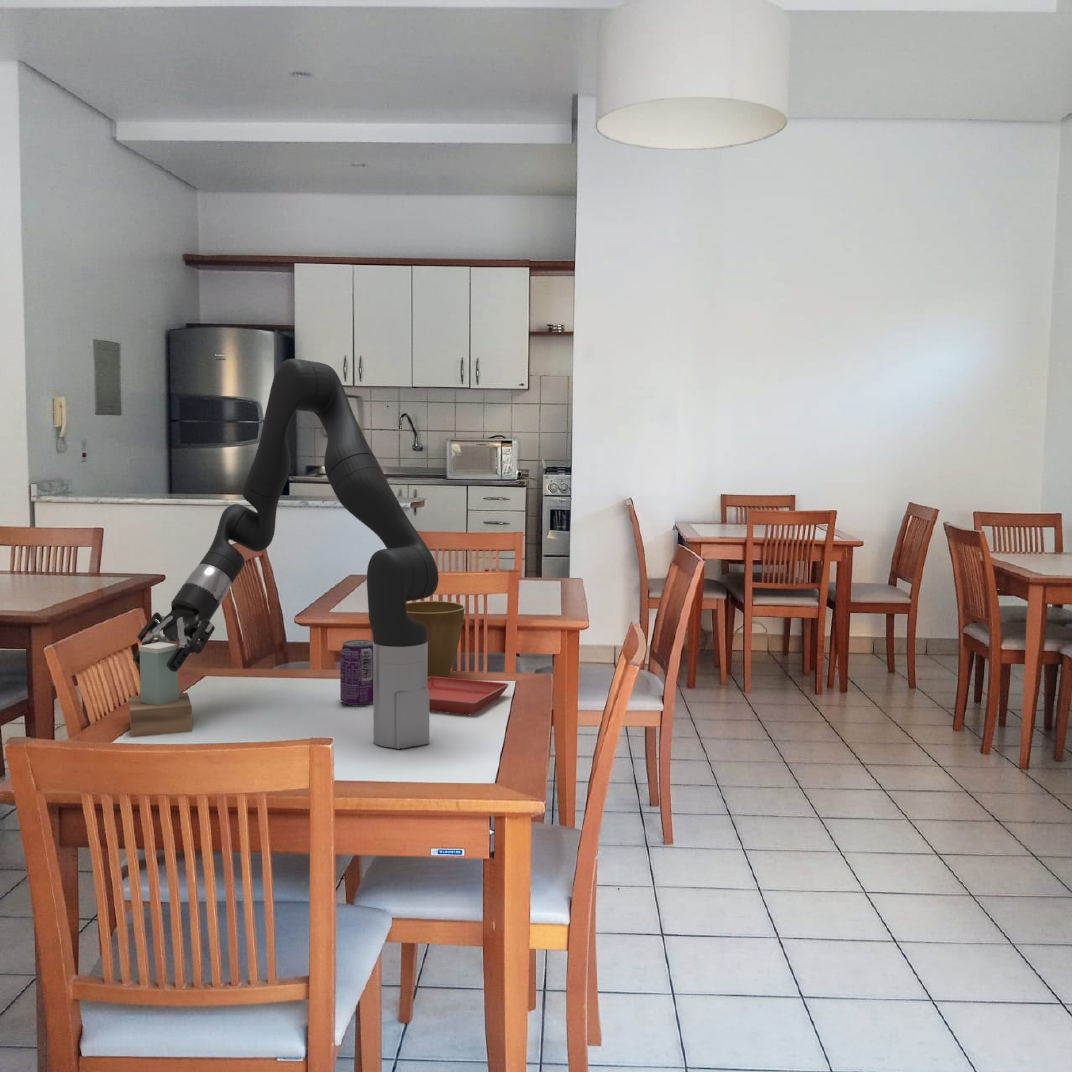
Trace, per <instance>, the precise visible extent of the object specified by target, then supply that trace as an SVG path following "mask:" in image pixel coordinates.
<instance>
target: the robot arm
mask: <svg viewBox="0 0 1072 1072" xmlns="http://www.w3.org/2000/svg"><path fill="white" fill-rule="evenodd" d="M296 411H300V412H312V413H314V414H315V415H316V416H317V417H318V420H320V423H321V424H322V426H323V428H324V431H325V433H326V436H327V440H326V441H327V443H326V448H325V453H324V463H323V465H324V472H325V475H326V477H327V479H328V482H329V484H330V486H331V488H332V490H333V492H334V494H335V496H336V499H337V500H338V501H339V503H340V504H341V505H342V507H343V508H344V509H345V510H347V511H348V513H350V514H351V515H352V516H354V518H356V519H357V520H358V521H359V522H361V523H362V524H363V525H364V526H366V527H367V528H368V529H369V530H371V531H372V532H373V533H375V535H376V536H377V537H378V538H379V539H380V541H382V543H383V544H384V547H385V548H383V549H379V550H377V551H376V552H374V553H373V554H372V556H371V557H370V559H369V561H368V565H367V571H366V588H367V589H366V590H367V604H368V605H367V606H368V619H369V620H368V621H369V625H370V629H371V631H372V641H373V702H372V703H373V707H372V708H373V711H372V712H373V714H372V715H373V716H372V717H373V718H372V719H373V743H374V744H375V745H378V746H381V747H384V748H385V747H386V748H393V749H396V748H402V749H406V748H408V749H409V748H412V746H413V747H418V746H422V745H427V744H428V745H429V744H430V711H429V689H428V630H427V626H426V625H425V624H424V623H422V622H419V621H415V620H412V619H411V618H409V617H408V615H407V610H406V603H407V602H411V601H412V602H414V601H418V600H423V599H427V598H430V597H431V596H433V595H434V593H435V592H436V591H437V588H438V586H439V570H438V566H437V563H436V560H435V559H434V556H433V554H432V553H431V551H430V549H429V548H428V546H427V545H426V543H425V542H424V540H423V539H422V537H421V536H420V534H419V532H418V531H417V530H416V528H415V526H413V524H412V522H411V520H410V519H409V517H408V516H407V514H406V513H405V511H404V509H403V507H402V506H401V504H400V502H399V500H398V499H397V497H396V495H395V493H394V491H393V489H392V488H391V486H390V483H389V482H388V479H387V478H386V475H385V474H384V472H383V468H382V467H381V465H380V463H379V461H378V460H377V457H376V456H375V454H374V453H373V451H372V449H371V447H370V446H369V444H368V442H367V439H366V437H365V435H364V433H363V431H362V430H361V427H360V425H359V423H358V421H357V418H356V417H355V414H354V411H353V409H352V406H351V404H350V401H349V399H348V397H347V394H346V391H345V388H344V386H343V384H342V382H341V378H340V376H339V375H338V373H337V372H336V371H335V369H334V368H333V367H331V366H330V365H328V364H327V363H325V362H318V361H313V360H305V359H301V358H300V359H299V358H289V359H286V360H284V361H283V362H281V364H280V365H279V366H278V368H277V369H276V372H275V374H274V376H273V379H272V383H271V387H270V391H269V396H268V401H267V405H266V409H265V413H264V418H263V424H262V429H261V434H260V439H259V442H258V445H257V450H256V452H255V455H254V458H253V461H252V464H251V466H250V469H249V471H248V473H247V476H246V478H245V482H244V483H243V486H242V490H241V495H242V497H243V499H244V500H246V502H248V503H249V504H250V505H251V506H252V507H253V508H254V509H255V510H256V511H257V512H256V511H255V510H253V509H251V508H250V507H246V506H245V505H242V504H240V503H235V504H234V503H233V504H231V505H229V506H227V507H226V508H225V509H224V510H223V512H222V513H221V516H220V518H219V523H218V525H217V529H216V531H215V536H214V539H213V541H212V543H211V545H210V547H209V549H208V551H207V552H206V554H205V555H204V556H203V558H202V559H201V560H200V562H199V564H198V565H197V566H196V568H195V569H194V570H193V571H192V572H191V573H190V575H189V576H188V578H187V579H186V580H185V582H184V583H183V584H182V586H181V587H180V589H179V590H178V592H177V593H176V595H175V596H174V598H173V599H172V601H171V602H170V605H171V609H170V612H169V613H168V614H166V615H165V616H163V615H161V613H160V612H158V611H157V612H154V613H153V615H152V616H151V617H150V619H148V621H147V622H146V624H145V625H144V626H143V628H142V630H141V631H140V632H139V633H138V635H137V639H138V640H139V641H140V642H141V643H142V644H141V645H140V646H142V645H147V644H152V643H157V642H164V643H170V642H177V643H179V644H178V647H179V648H177V649H176V650H175V652H174V654H173V655H172V657H171V658H170V660H169V661H168V663H167V667H168V668H169V669H170V670H171V671H173V672H176V671H177V670H178V671H179V669H180V668H181V667H182V665H183V664H184V662H185V661H186V660H187V658H188V656H191V655H192V654H193V653H195V654H201V653H202V652H203V651H204V650H203V649H204V647H205V646H206V645H207V642H208V640H209V639H210V637H211V636H212V635H213V633H214V631H215V630H216V627H215V626H214V625H213V623H212V622H211V619H212V618H213V616H214V615H215V613H216V612H217V610H218V608H220V606H221V604H222V602H223V601H224V599H225V598H226V596H227V594H228V592H229V590H230V588H231V586H232V585H233V583H234V582H235V580H236V579H237V577H238V575H239V574H240V573H241V571H242V570H243V568H244V565H245V558H244V556H243V554H242V553H241V552H240V551H239V550H238V549H237V548H235V547H234V546H233V545H232V544H231V543H230V541H232V542H234V543H236V544H238V545H241V546H242V547H243V548H246V549H248V550H251V551H253V552H255V553H257V552H261V551H264V550H266V549H267V548H268V547H269V546H270V545H271V544H272V541H273V538H274V535H275V531H276V522H277V521H276V519H277V510H278V506H279V505H278V504H279V500H280V498H281V495H282V492H283V490H284V487H285V485H286V483H287V481H288V477H289V475H290V471H291V455H290V448H289V443H288V429H289V426H290V423H291V420H292V418H293V417H294V414H295V413H296ZM161 632H162V633H163V634H162V633H161ZM148 633H149V634H148ZM155 638H156V639H155ZM198 641H199V642H198ZM132 661H133V663H134V664H136V665H137V666H139V667H140V651H139V648H138V649H137V651H136V652H135V654H134V655H133V658H132Z"/></svg>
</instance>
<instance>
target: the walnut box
mask: <svg viewBox="0 0 1072 1072" xmlns="http://www.w3.org/2000/svg"><path fill="white" fill-rule="evenodd" d="M128 699H129V700H128V704H129V728H130V737H131V738H135V737H136V738H139V737H148V736H149V737H150V736H157V735H169V734H180V733H192V732H193V719H192V717H193V712H192V711H193V710H192V706H193V705H192V702H191V700H190V697H189V693H188V692H180V693H179V700H178V701H174V702H170V703H167V704H163V705H159V706H158V705H152V704H147V703H141V695H140V696H130V697H129V696H128Z"/></svg>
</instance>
